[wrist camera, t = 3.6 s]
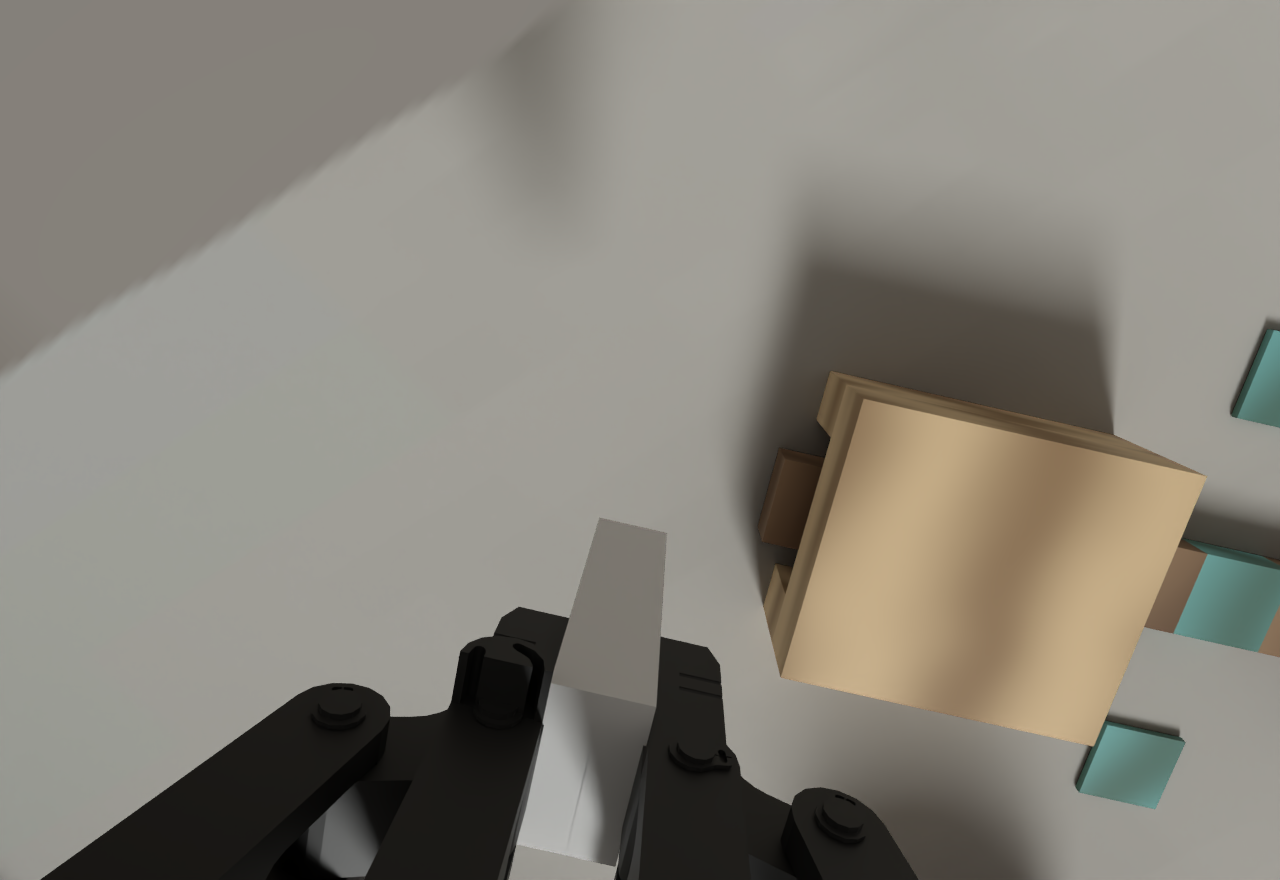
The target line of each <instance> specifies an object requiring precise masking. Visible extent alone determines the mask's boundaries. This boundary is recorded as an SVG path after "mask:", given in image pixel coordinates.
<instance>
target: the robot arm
mask: <svg viewBox="0 0 1280 880" xmlns="http://www.w3.org/2000/svg"><path fill="white" fill-rule="evenodd" d="M666 537H667V533H664V532H660V531H656V530H651V529H647V528H642V527H638V526H634V525H629V524H625V523H620V522H616V521H612V520H607V519H603V518H599V521H598V524H597V528H596V531H595V534H594V538H593V541H592V545H591V548H590V551H589V555H588V558H587V561H586V565H585V568H584V571H583V575H582V578H581V581H580V585H579V588H578V591H577V595H576V598H575V601H574V605H573V608H572V611H571V615H570V618H566V617H562V616H557V615H553V614H548V613H544V612H540V611H535V610H531V609H526V608H522V607H518V608H516V609H515V610H513V611H511V612H510V613H508V614H507V615H505V616H503V617H502V618H501V620H500V622H499V624H498V626H497V628H496V630H495V632H494V636H493V637H484V638H480V639H477V640H475V641H472V642H470V643H468V644H467V645H466V646H465V647H464V648H463V649H462V650H461V651H460V656H459V661H458V667H457V673H456V678H455V684H454V689H453V695H452V700H451V704H450V706H449V708H448V709H447V710H445V711H443V712H440V713H436V714H432V715H428V716H417V717H390V706H389V704H388V703H387V702H386V700H385V699H384V697H383V696H382V695H380V694H378V693H377V692H375V691H373V690H372V689H370V688H367V687H363V686H359V685H355V684H346V683H331V684H326V685H321V686H316V687H312V688H310V689H308V690H306V691H304V692H302V693H300V694H298V695H297V696H295V697H294V698H293V699H291V700H290V701H288V702H287V703H286V704H284V705H283V706H281V707H280V708H279V709H277V710H276V711H274V712H273V713H272V714H270V715H269V716H267V717H266V718H265V719H263V720H262V721H261V722H259V723H258V724H256V725H255V726H254V727H252V728H251V729H249V730H248V731H247V732H245V733H244V734H242V735H241V736H240V737H238V738H237V739H235V740H234V741H233V742H231V743H230V744H228V745H227V746H226V747H224V748H223V749H222V750H220V751H219V752H217V753H216V754H215V755H213V756H212V757H210V758H209V759H208V760H206V761H205V762H203V763H202V764H201V765H199V766H198V767H196V768H195V769H194V770H192V771H191V772H190V773H188V774H187V775H185V776H184V777H183V778H181V779H180V780H178V781H177V782H176V783H174V784H173V785H171V786H170V787H169V788H167V789H166V790H164V791H163V792H162V793H160V794H159V795H158V796H156V797H155V798H153V799H152V800H151V801H149V802H148V803H146V804H145V805H144V806H142V807H141V808H139V809H138V810H137V811H135V812H134V813H132V814H131V815H130V816H128V817H127V818H126V819H124V820H123V821H121V822H120V823H119V824H117V825H116V826H114V827H113V828H112V829H110V830H109V831H107V832H106V833H105V834H103V835H102V836H100V837H99V838H98V839H96V840H95V841H93V842H92V843H91V844H89V845H88V846H87V847H85V848H84V849H82V850H81V851H80V852H78V853H77V854H75V855H74V856H73V857H71V858H70V859H68V860H67V861H66V862H64V863H63V864H61V865H60V866H59V867H57V868H56V869H55V870H53V871H52V872H50V873H49V874H48V875H46V876H45V877H43V878H42V879H41V880H508V879H509V875H510V871H511V866H512V862H513V857H514V853H515V848H516V844H517V845H522V846H526V847H531V848H535V849H539V850H544V851H548V852H553V853H557V854H562V855H566V856H570V857H575V858H579V859H584V860H588V861H593V862H597V863H601V864H606V865H610V866H616V862H617V858H618V854H619V861H618V867H617V871H616V875H615V879H614V880H918V878H917V877H916V875H915V873H914V872H913V870H912V869H911V867H910V865H909V864H908V862H907V861H906V859H905V857H904V856H903V854H902V852H901V851H900V849H899V848H898V846H897V844H896V843H895V841H894V840H893V838H892V836H891V835H890V833H889V831H888V830H887V828H886V827H885V825H884V824H883V823H882V821H881V820H880V819H879V818H878V817H877V816H876V814H875V813H874V812H873V811H872V810H871V809H869V808H868V807H867V806H865V805H864V804H863V803H861V802H860V801H858V800H857V799H855V798H853V797H851V796H849V795H846V794H845V793H842V792H840V791H836V790H831V789H826V788H821V787H820V788H810V789H805V790H803V791H801V792H800V793H798V794H797V795H795V797H794V800H793V803H792V805H789V804H787V803H785V802H782V801H780V800H778V799H776V798H774V797H772V796H770V795H768V794H766V793H764V792H762V791H760V790H758V789H757V788H755V787H754V786H752V785H751V784H750V783H748V782H747V781H746V780H744V779H743V778H742V777H741V773H740V766H739V763H738V761H737V758H736V755H735V754H734V753H733V752H732V751H731V749H730V748H729V747H728V746H727V745H726V735H725V723H724V710H723V699H722V686H721V673H720V664H719V663H718V662H717V660H716V659H715V657H714V656H713V654H712V653H711V652H710V650H709V649H708V647H703V646H699V645H694V644H690V643H686V642H681V641H677V640H672V639H668V638H664V637H661V620H662V604H663V587H664V571H665V554H666ZM619 850H620V852H619Z"/></svg>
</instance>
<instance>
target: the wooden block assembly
mask: <svg viewBox="0 0 1280 880" xmlns="http://www.w3.org/2000/svg"><path fill="white" fill-rule="evenodd" d="M1231 416H1233V417H1236V418H1240V419H1244V420H1249V421H1253V422H1257V423H1262V424H1266V425H1271V426H1275V427H1279V428H1280V331H1276V330H1270V329H1267V331H1266V334H1265V336H1264V339H1263V341H1262V343H1261V346H1260V348H1259V351H1258V353H1257V355H1256V358H1255V360H1254V362H1253V365H1252V367H1251V370H1250V372H1249V374H1248V377H1247V379H1246V382H1245V384H1244V386H1243V389H1242V391H1241V393H1240V396H1239V398H1238V401H1237V403H1236V405H1235V408H1234V410H1233V413H1232V415H1231ZM824 460H825V458H823V457H819V456H814V455H810V454H805V453H801V452H796V451H792V450H787V449H783V448H779V450H778V454H777V457H776V461H775V465H774V468H773V472H772V476H771V479H770V483H769V486H768V490H767V494H766V497H765V501H764V505H763V508H762V512H761V516H760V519H759V523H758V530H759V533H760V537H761V540H762V542H765V543H769V544H774V545H778V546H783V547H787V548H792V549H796V550H798V549H799V546H800V543H801V539H802V536H803V532H804V529H805V525H806V522H807V518H808V515H809V512H810V508H811V505H812V501H813V498H814V494H815V491H816V487H817V484H818V481H819V477H820V474H821V470H822V467H823V463H824ZM1144 627H1147V628H1151V629H1156V630H1160V631H1164V632H1169V633H1173V634H1178V635H1182V636H1187V637H1191V638H1196V639H1200V640H1205V641H1209V642H1214V643H1218V644H1223V645H1227V646H1232V647H1236V648H1241V649H1245V650H1250V651H1254V652H1259V653H1263V654H1268V655H1272V656H1277V657H1280V560H1277V559H1273V558H1268V557H1264V556H1259V555H1255V554H1251V553H1246V552H1242V551H1237V550H1233V549H1228V548H1224V547H1219V546H1215V545H1210V544H1206V543H1202V542H1197V541H1193V540H1188V539H1184V538H1181V540H1180V542H1179V545H1178V547H1177V549H1176V552H1175V554H1174V557H1173V559H1172V561H1171V564H1170V566H1169V568H1168V571H1167V573H1166V576H1165V578H1164V580H1163V583H1162V585H1161V587H1160V590H1159V592H1158V595H1157V597H1156V599H1155V602H1154V604H1153V607H1152V609H1151V611H1150V614H1149V616H1148V618H1147V621H1146V623H1145V626H1144ZM1184 745H1185V741H1184V740H1183V739H1182V738H1181V737H1177V736H1172V735H1168V734H1163V733H1159V732H1154V731H1150V730H1145V729H1140V728H1136V727H1131V726H1127V725H1122V724H1118V723H1113V722H1109V721H1104V723H1103V726H1102V728H1101V730H1100V733H1099V735H1098V737H1097V740H1096V742H1095V745H1094V746H1092V749H1091V751H1090V753H1089V756H1088V758H1087V761H1086V763H1085V765H1084V768H1083V770H1082V772H1081V775H1080V777H1079V780H1078V782H1077V784H1076V789H1077V790H1078V791H1079V792H1080V793H1084V794H1089V795H1093V796H1098V797H1102V798H1107V799H1111V800H1116V801H1121V802H1125V803H1130V804H1134V805H1139V806H1143V807H1148V808H1152V809H1156V806H1157V804H1158V802H1159V800H1160V798H1161V795H1162V793H1163V791H1164V789H1165V787H1166V784H1167V782H1168V780H1169V778H1170V775H1171V773H1172V771H1173V769H1174V767H1175V764H1176V762H1177V760H1178V758H1179V756H1180V753H1181V751H1182V749H1183V747H1184Z"/></svg>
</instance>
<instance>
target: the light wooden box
mask: <svg viewBox="0 0 1280 880" xmlns="http://www.w3.org/2000/svg"><path fill="white" fill-rule="evenodd" d="M816 420H817V421H818V422H819V423H820V425H821V426H822V427H823V429H824V430H825V431H826V432H827V434H828V435H829V436H830V437H831V439H830V443H829V446H828V450H827V453H826V457H825V460H824V463H823V467H822V470H821V474H820V477H819V481H818V484H817V487H816V491H815V494H814V498H813V501H812V505H811V508H810V512H809V515H808V518H807V522H806V525H805V529H804V532H803V536H802V539H801V543H800V546H799V549H798V553H797V556H796V560H795V563H794V567H789V566H785V565H780V564H775V567H774V571H773V574H772V578H771V581H770V585H769V588H768V592H767V595H766V599H765V602H764V606H763V607H764V611H765V615H766V620H767V624H768V628H769V632H770V636H771V640H772V644H773V648H774V652H775V656H776V660H777V664H778V668H779V672H780V677H781V678H785V679H789V680H794V681H798V682H803V683H807V684H812V685H817V686H821V687H826V688H830V689H835V690H839V691H844V692H848V693H853V694H857V695H862V696H867V697H871V698H876V699H880V700H885V701H889V702H894V703H898V704H903V705H907V706H912V707H916V708H921V709H926V710H930V711H935V712H939V713H944V714H948V715H953V716H957V717H962V718H966V719H971V720H976V721H980V722H985V723H989V724H994V725H998V726H1003V727H1007V728H1012V729H1016V730H1021V731H1026V732H1030V733H1035V734H1039V735H1044V736H1048V737H1053V738H1057V739H1062V740H1066V741H1071V742H1076V743H1080V744H1085V745H1089V746H1094V745H1095V742H1096V740H1097V737H1098V735H1099V733H1100V730H1101V728H1102V726H1103V723H1104V721H1105V718H1106V716H1107V714H1108V711H1109V709H1110V707H1111V704H1112V702H1113V699H1114V697H1115V695H1116V692H1117V690H1118V687H1119V685H1120V683H1121V680H1122V678H1123V676H1124V673H1125V671H1126V668H1127V666H1128V664H1129V661H1130V659H1131V657H1132V654H1133V652H1134V649H1135V647H1136V645H1137V642H1138V640H1139V637H1140V635H1141V633H1142V630H1143V628H1144V626H1145V623H1146V621H1147V618H1148V616H1149V614H1150V611H1151V609H1152V607H1153V604H1154V602H1155V599H1156V597H1157V595H1158V592H1159V590H1160V587H1161V585H1162V583H1163V580H1164V578H1165V576H1166V573H1167V571H1168V568H1169V566H1170V564H1171V561H1172V559H1173V557H1174V554H1175V552H1176V549H1177V547H1178V545H1179V542H1180V540H1181V537H1182V535H1183V533H1184V530H1185V528H1186V526H1187V523H1188V521H1189V518H1190V516H1191V514H1192V511H1193V509H1194V507H1195V504H1196V502H1197V499H1198V497H1199V495H1200V492H1201V490H1202V487H1203V485H1204V483H1205V480H1206V478H1207V476H1205V475H1203V474H1201V473H1198V472H1196V471H1194V470H1192V469H1189V468H1187V467H1185V466H1183V465H1180V464H1178V463H1176V462H1174V461H1171V460H1169V459H1167V458H1165V457H1162V456H1160V455H1158V454H1156V453H1153V452H1151V451H1149V450H1147V449H1144V448H1142V447H1140V446H1138V445H1136V444H1133V443H1131V442H1129V441H1127V440H1124V439H1122V438H1120V437H1118V436H1115V435H1112V434H1108V433H1103V432H1099V431H1094V430H1090V429H1086V428H1081V427H1077V426H1072V425H1068V424H1063V423H1059V422H1055V421H1050V420H1046V419H1041V418H1037V417H1033V416H1028V415H1024V414H1019V413H1015V412H1010V411H1006V410H1002V409H997V408H993V407H988V406H984V405H979V404H975V403H971V402H966V401H962V400H957V399H953V398H949V397H944V396H940V395H935V394H931V393H926V392H922V391H918V390H913V389H909V388H904V387H900V386H895V385H891V384H887V383H882V382H878V381H873V380H869V379H865V378H860V377H856V376H851V375H847V374H842V373H838V372H834V371H830V374H829V377H828V381H827V384H826V388H825V391H824V395H823V398H822V402H821V405H820V409H819V412H818V416H817V419H816Z"/></svg>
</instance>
